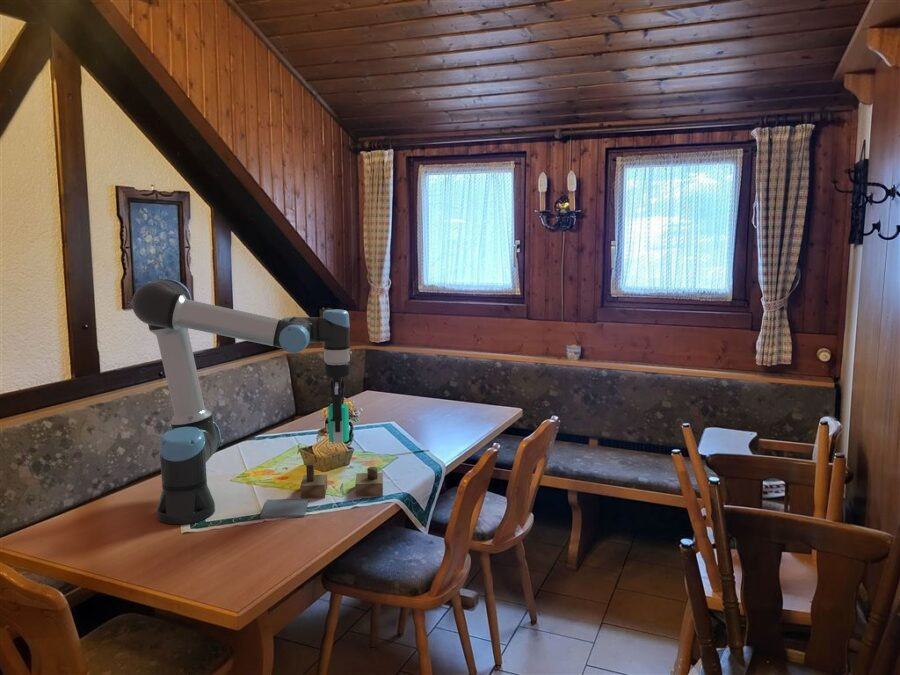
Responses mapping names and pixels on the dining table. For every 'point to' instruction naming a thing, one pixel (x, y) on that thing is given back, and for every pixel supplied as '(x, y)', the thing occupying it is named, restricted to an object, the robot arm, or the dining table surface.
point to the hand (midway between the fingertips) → (338, 438)
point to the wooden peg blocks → (363, 486)
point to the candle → (344, 419)
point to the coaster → (285, 508)
